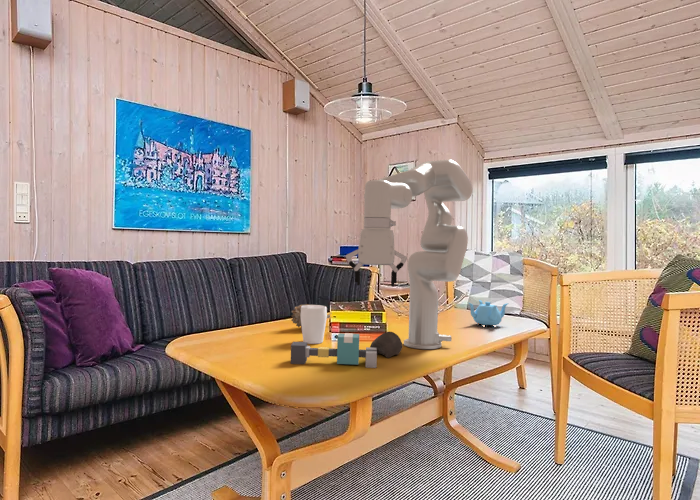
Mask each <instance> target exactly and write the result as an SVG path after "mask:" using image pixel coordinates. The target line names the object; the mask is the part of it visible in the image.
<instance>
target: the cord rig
mask: <svg viewBox="0 0 700 500" xmlns="http://www.w3.org/2000/svg"><path fill="white" fill-rule="evenodd" d="M312 356H313V357H317V358H329V357H333V358H334V357H336V358H337V348H330V346H329V347H326V346H325V347H324V346H318V347H311V346H310V345H308V343H307V342H303V341H293V342H292V343H291V344H290V365H306V363H307V360H308V358H310V357H312ZM377 357H378V353H377V349H376V348H371V347H365V349H359V358H364V359H365V368H368V369H376V368H377V365H378V364H377V361H378V358H377Z"/></svg>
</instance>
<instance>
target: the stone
mask: <svg viewBox="0 0 700 500" xmlns="http://www.w3.org/2000/svg"><path fill="white" fill-rule="evenodd" d="M403 346H404V345H403V342H402V339H401V338H400V336H399V335H398V334H397V333H395V332H394V331H386V332H383V333H382V334H380V335H378V336H377V337H376V338H375V339H374V340H373V341H372V342H371V344H370V347H371V348H376V349H377V355H378V354H380V355H383V356H385V358H387V359H390V358H391V357H393V356H398V355H399V354H400V353H401V351H402V350H403Z"/></svg>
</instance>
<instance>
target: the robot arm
mask: <svg viewBox="0 0 700 500" xmlns="http://www.w3.org/2000/svg"><path fill="white" fill-rule="evenodd" d="M423 193H424V199H425V202H426V206H427V211H428V213H427V214H428V215H427V220H426V221H425V224H424V228H423V231H422V234H421V237H420V247H421V249H422V250H423V251H415V252H414V253H412V254H410V255H409V257H407V256H406V255H405V254H403V253H401V252H399V251H397V250H395V235H394V230H392V229H391V227H395V226H397V225H396V224H397V223H396V220H392V219H391V218H392V209H393V210H394V209H403V208H406V207H408V206H409V205H410V204H411V202H412V200H413V197H417V196H420V195H422V194H423ZM472 195H473V184H472V181H471V179H470V177H469V176H468V174H467V173H466V171H464V169H463V168H462V167H461V165H460V164H459V163H458V162H456V160H455V161H454V160H453V159H442V160H441V159H440V160H439V159H438V160H430V161H429V160H428V161H424V162H422V163H420V164H418V165H416V166H414V167H413V168H411V169H408V170H406V171H401V172H399V173H396V174H392V175H389V176H386V177H383V178H379V179H371V180H368V181H366V182H365V185H364V194H363V198H364V199H363V200H364V204H363V205H364V206H363V207H364V210H363V229H362V228H361V229H360V232H359V241H358V249H355V250H353V251H352V252H349V253H347V254H346V255H345V260H346V261H347V262H348V266H350V267H351V268H352V269H353V270H354V283H356V285H357V286H360V285H361V270H360V269H361V267H362V266H363V265H368V266H369V265H370V266H389V267H390V268H391V269H392V271H391V274H390V276H391V277H390V286H391V287H395V284H397V279H398V278H397V276H398V275H397V273H398V271H400V270H401V269H402V268H403V267H404V265H405V263H406V261H407V272H408V277H409V279H408V280H409V306H408V307H409V308H408V309H409V311H408V312H409V313H408V318H409V319H408V338H406V339H404V340H403V346H405V347H408V348H411V349H418V350H436V349H439V348H441V347H443V346H442V344H443V343H442V342H452V335H447V334H440V333H439V331H438V317H439V292H438V289H437V287H436V285H435V283H434V281H435V282H449V283H450V282H455V281H456V280H457V279H458V277H459V275H460V273H461V269H462V266H463V263H464V259H465V257H466V253H467V248H468V244H469V243H468V241H469V237H468V232H467V231H466V229H465V228H464V227H463V226H460V225H456V224H455V225H452V222H453V215H452V213H451V211H450V209H449V208H448V207H447V206H446V205H445V203H447V202H449V203H450V202H466V201H468V200H469V199H470V198H471V197H472ZM444 202H445V203H444ZM355 256H358V257H357V259H358V263H357V264H356V263H355V262H354V261H353V259H352V258H353V257H355ZM395 256H396V257H398V258H399V259H400V262H399V263H398V264H397V265H395V263H394V262H395Z"/></svg>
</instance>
